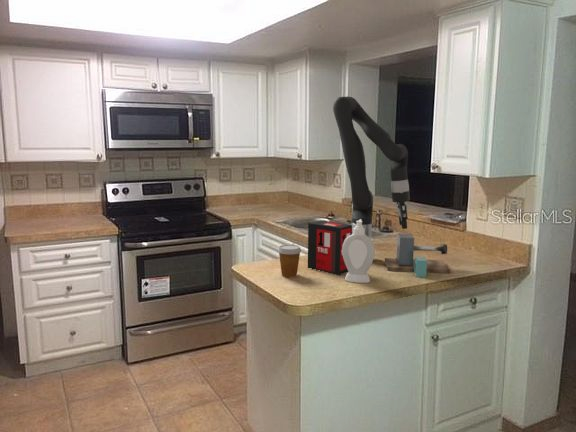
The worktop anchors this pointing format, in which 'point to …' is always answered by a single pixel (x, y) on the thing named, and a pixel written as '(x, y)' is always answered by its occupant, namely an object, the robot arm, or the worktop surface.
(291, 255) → the disposable coffee cup
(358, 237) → the soap bottle
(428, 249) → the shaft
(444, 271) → the base board
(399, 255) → the housing
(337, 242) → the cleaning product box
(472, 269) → the worktop surface
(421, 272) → the block
